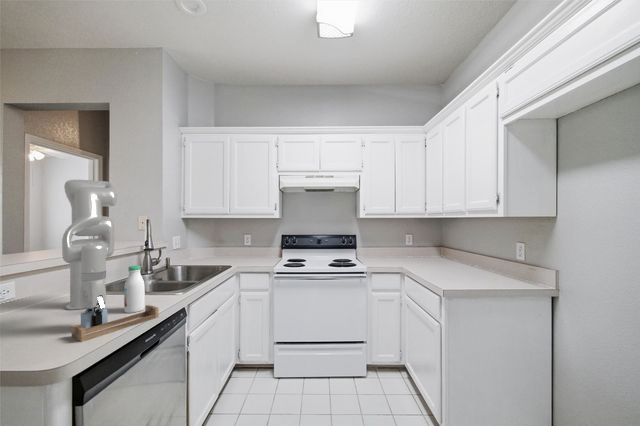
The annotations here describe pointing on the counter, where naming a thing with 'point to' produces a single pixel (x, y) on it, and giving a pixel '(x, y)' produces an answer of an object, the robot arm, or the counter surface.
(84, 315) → the pale blue upright box
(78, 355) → the counter surface
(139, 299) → the milk bottle
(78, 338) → the bottom track
